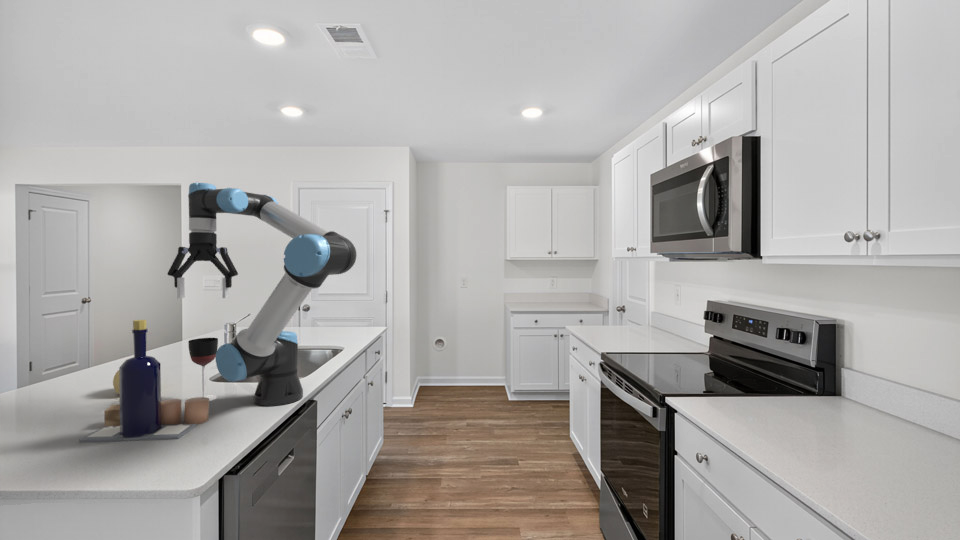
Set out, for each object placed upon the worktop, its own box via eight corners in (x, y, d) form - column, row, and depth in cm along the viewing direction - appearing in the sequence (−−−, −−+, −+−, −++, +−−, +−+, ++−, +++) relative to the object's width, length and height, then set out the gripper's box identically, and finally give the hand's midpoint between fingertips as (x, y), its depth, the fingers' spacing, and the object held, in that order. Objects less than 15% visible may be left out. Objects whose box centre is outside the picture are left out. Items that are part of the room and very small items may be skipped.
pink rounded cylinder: (183, 418, 132) (183, 398, 132) (178, 424, 126) (178, 403, 126) (159, 420, 129) (159, 400, 129) (153, 427, 124) (153, 406, 124)
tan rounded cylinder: (210, 416, 133) (211, 396, 133) (205, 423, 127) (205, 403, 127) (187, 417, 131) (188, 397, 131) (181, 425, 126) (181, 404, 126)
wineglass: (183, 401, 147) (182, 341, 146) (207, 393, 155) (207, 336, 154) (199, 404, 144) (199, 343, 143) (224, 396, 152) (223, 338, 151)
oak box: (133, 420, 130) (133, 403, 130) (126, 426, 125) (126, 408, 125) (112, 422, 128) (112, 405, 128) (104, 428, 123) (104, 410, 123)
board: (196, 425, 126) (196, 423, 126) (178, 438, 117) (178, 435, 117) (104, 428, 123) (104, 425, 123) (79, 442, 114) (79, 439, 114)
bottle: (139, 438, 114) (137, 323, 114) (109, 435, 116) (108, 322, 115) (170, 425, 124) (169, 318, 123) (142, 423, 125) (141, 317, 124)
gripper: (248, 233, 147) (248, 296, 148) (168, 232, 145) (168, 296, 145) (238, 232, 140) (239, 298, 140) (154, 230, 137) (154, 299, 138)
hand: (203, 298), depth 143 cm, fingers open, 13 cm apart
